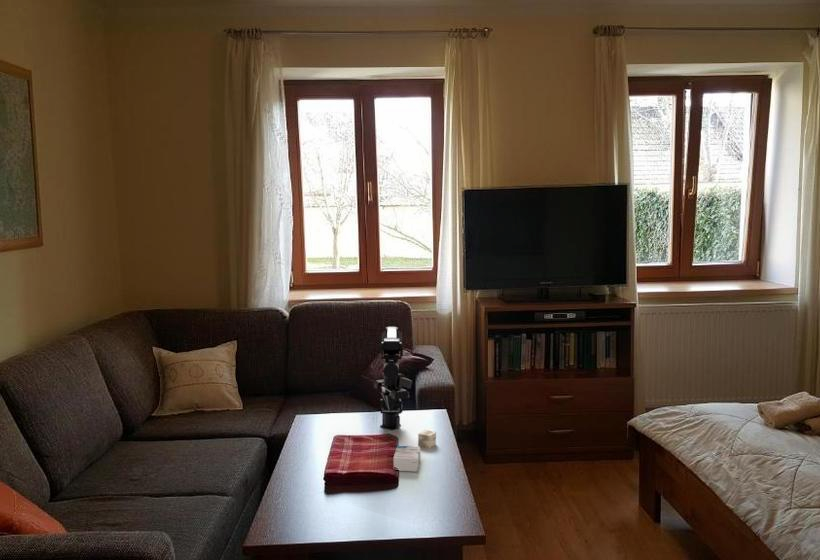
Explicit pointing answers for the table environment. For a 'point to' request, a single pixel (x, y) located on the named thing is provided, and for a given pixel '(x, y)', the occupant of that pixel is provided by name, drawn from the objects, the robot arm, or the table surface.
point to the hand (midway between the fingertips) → (390, 410)
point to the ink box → (407, 458)
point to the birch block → (426, 438)
